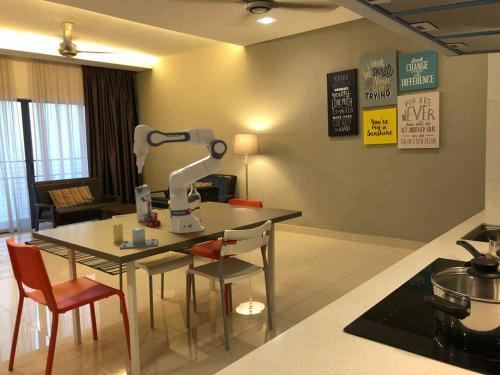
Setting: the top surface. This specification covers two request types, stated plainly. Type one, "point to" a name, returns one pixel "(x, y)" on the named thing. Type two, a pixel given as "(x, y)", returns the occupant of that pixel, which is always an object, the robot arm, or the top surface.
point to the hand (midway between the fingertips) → (140, 172)
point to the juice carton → (143, 202)
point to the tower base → (130, 244)
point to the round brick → (118, 232)
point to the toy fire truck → (153, 219)
